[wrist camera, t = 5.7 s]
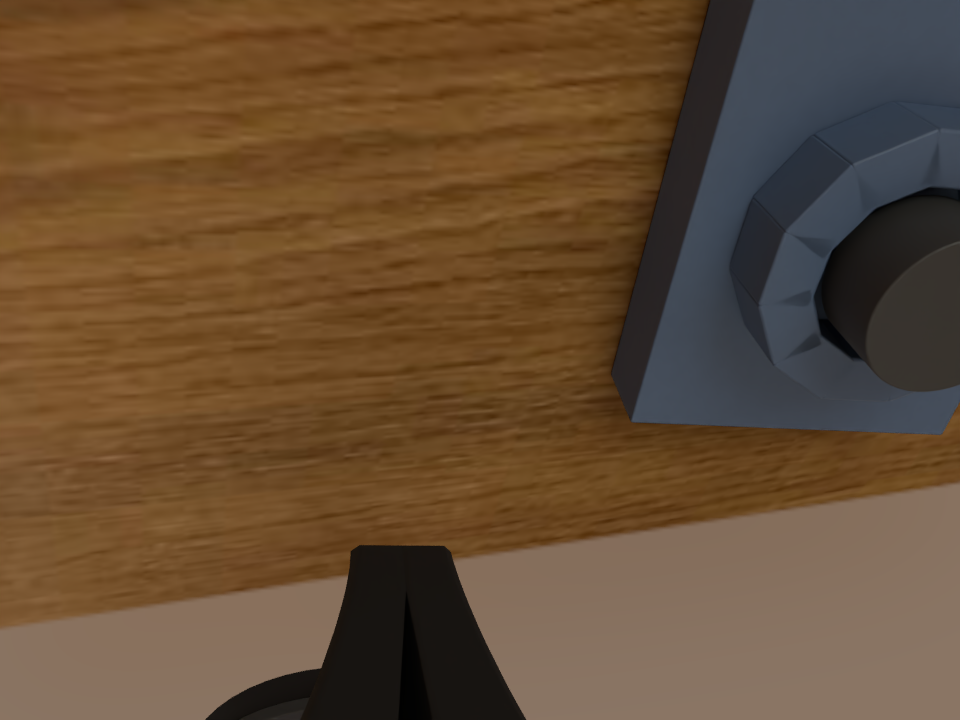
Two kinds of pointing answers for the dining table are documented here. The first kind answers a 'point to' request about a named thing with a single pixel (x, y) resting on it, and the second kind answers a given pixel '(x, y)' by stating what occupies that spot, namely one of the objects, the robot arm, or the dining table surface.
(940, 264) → the button
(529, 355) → the dining table surface
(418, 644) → the robot arm
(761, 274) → the block
